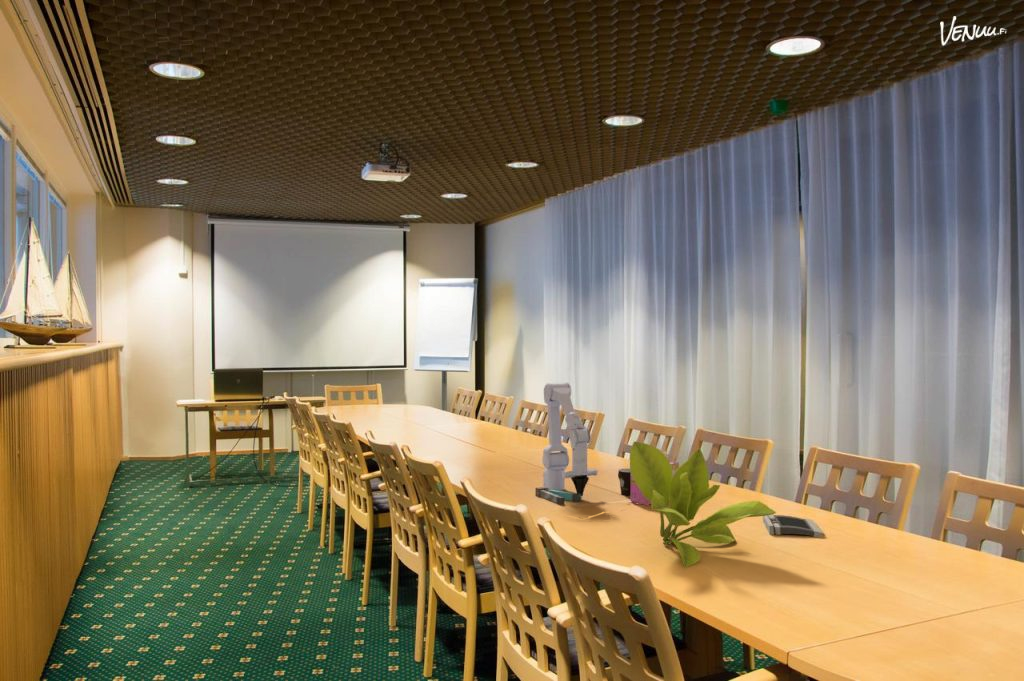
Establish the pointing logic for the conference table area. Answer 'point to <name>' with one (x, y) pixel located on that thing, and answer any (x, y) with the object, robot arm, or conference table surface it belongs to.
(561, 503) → the tongs base
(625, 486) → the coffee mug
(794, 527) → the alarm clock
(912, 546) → the conference table surface
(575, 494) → the bar
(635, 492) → the gum box
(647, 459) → the artificial plant
